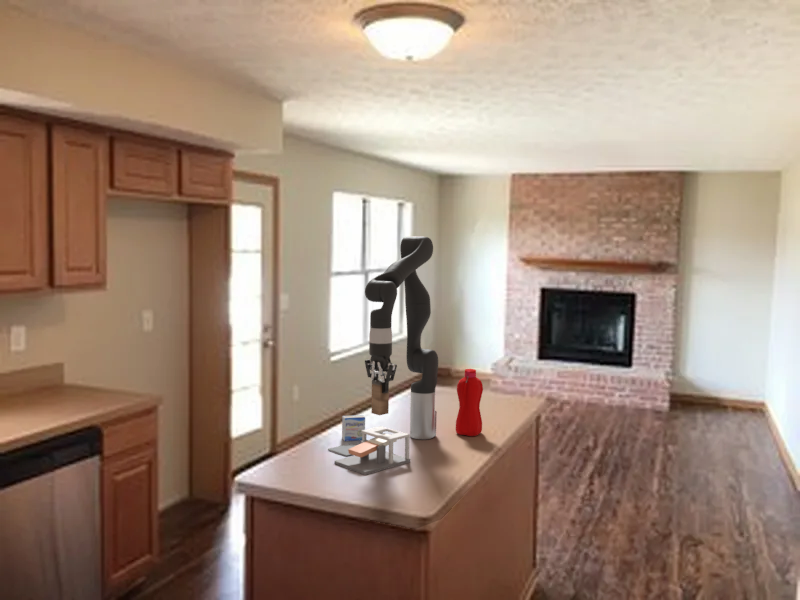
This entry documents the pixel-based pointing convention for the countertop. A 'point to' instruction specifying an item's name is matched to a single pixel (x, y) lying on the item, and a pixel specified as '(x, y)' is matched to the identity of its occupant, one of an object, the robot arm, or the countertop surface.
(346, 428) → the medicine box
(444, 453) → the countertop surface
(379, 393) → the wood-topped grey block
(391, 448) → the white square frame
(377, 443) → the rocker
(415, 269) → the robot arm
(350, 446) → the mat
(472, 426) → the water bottle
